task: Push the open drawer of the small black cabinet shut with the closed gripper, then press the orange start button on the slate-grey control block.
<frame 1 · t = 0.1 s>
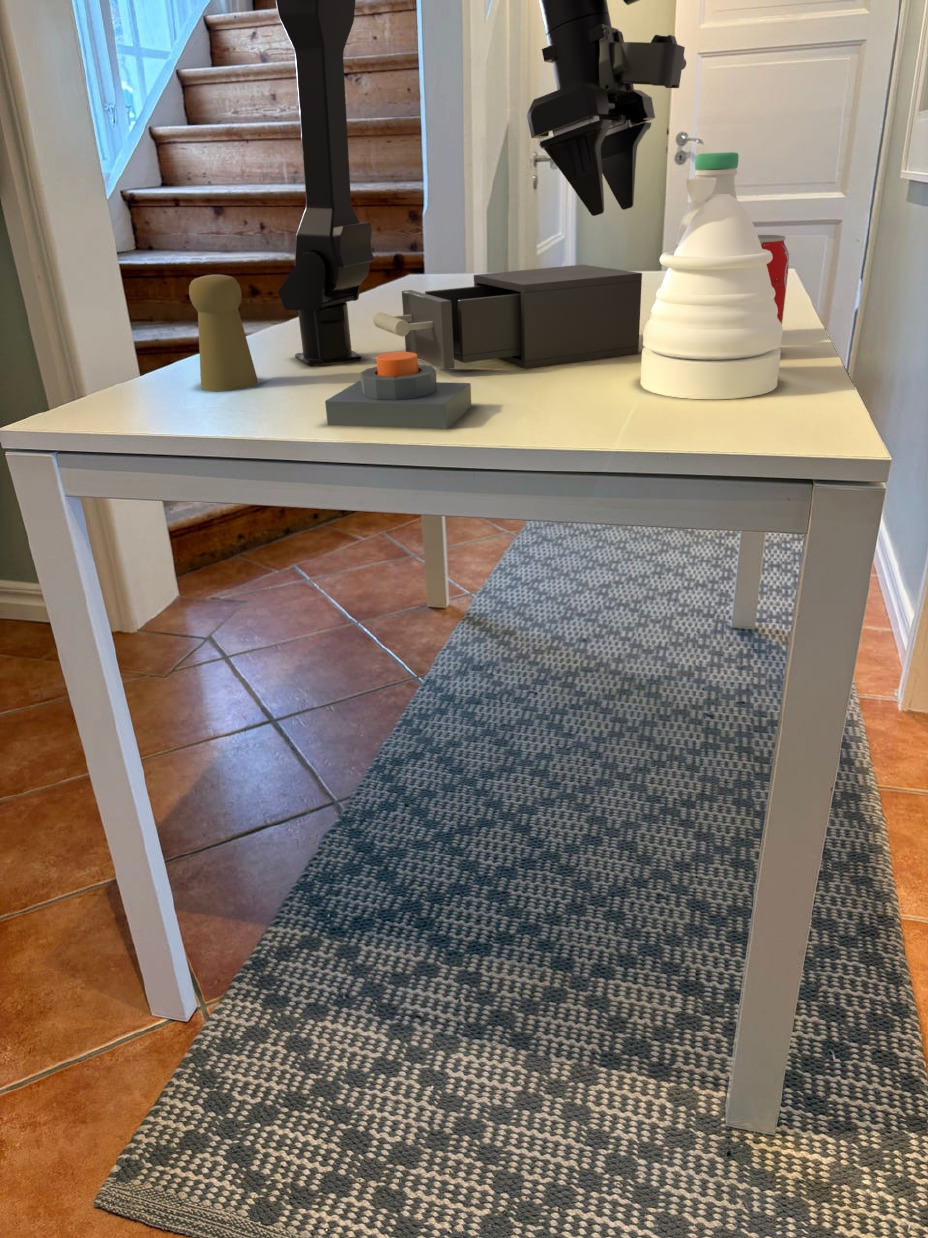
hand: (613, 211, 85), 15 cm above the table, tool pointing down, fingers open, 9 cm apart
milk bottle: (702, 341, 108), on the table
soda can: (744, 356, 99), on the table
cork: (230, 386, 96), on the table
honey pot: (707, 385, 87), on the table
control block: (401, 415, 81), on the table
start button: (397, 365, 79), point 4 cm above the table, slide at 0.1 cm
drawer: (460, 324, 99), point 4 cm above the table, slide at 8.0 cm
cabinet: (555, 352, 105), on the table
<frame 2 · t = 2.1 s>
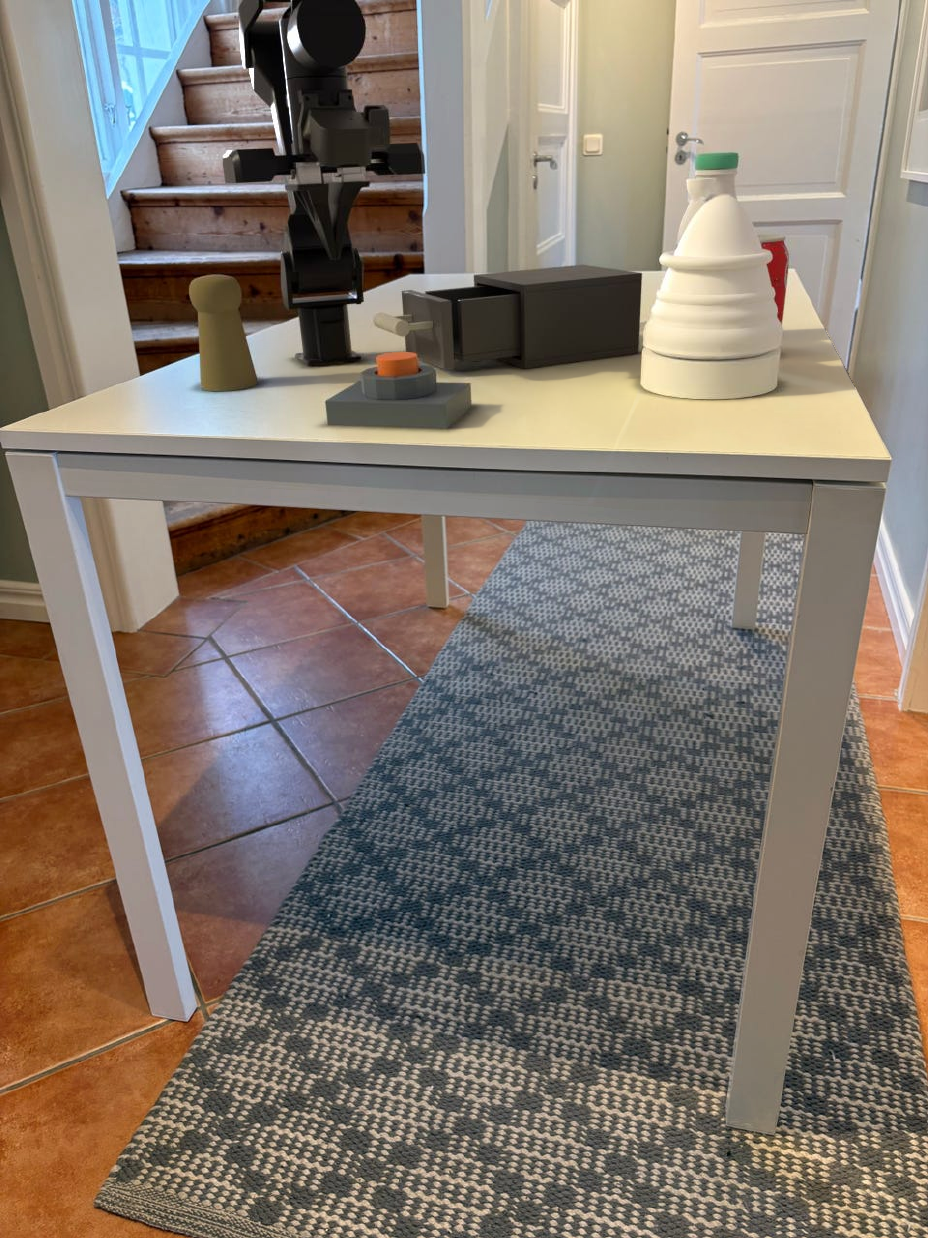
hand: (334, 259, 90), 12 cm above the table, tool pointing down, fingers closed
nothing on the table moved.
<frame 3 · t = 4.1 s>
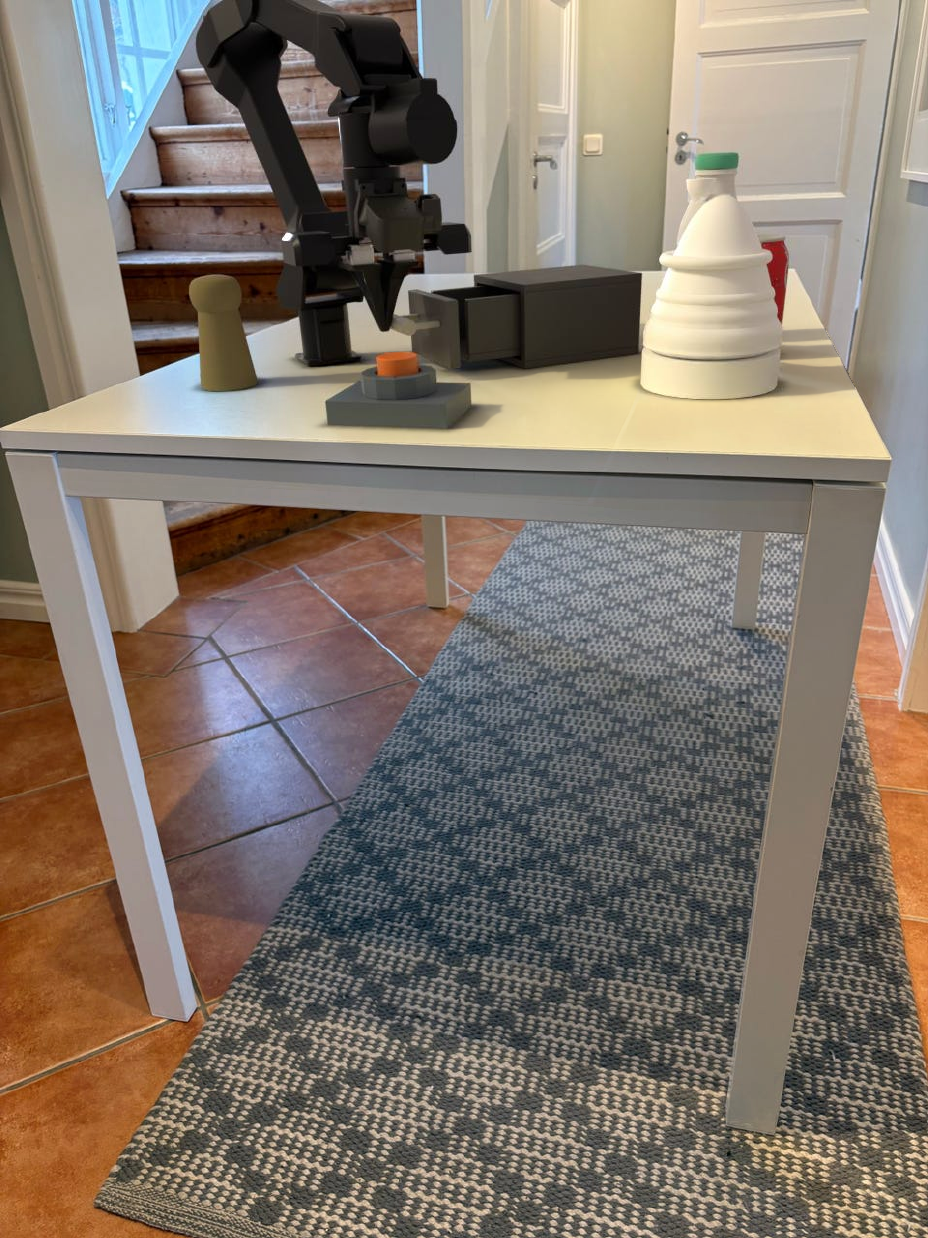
hand: (384, 331, 95), 5 cm above the table, tool pointing down, fingers closed
drawer: (467, 323, 99), point 4 cm above the table, slide at 7.2 cm, touching gripper
everything else where it was.
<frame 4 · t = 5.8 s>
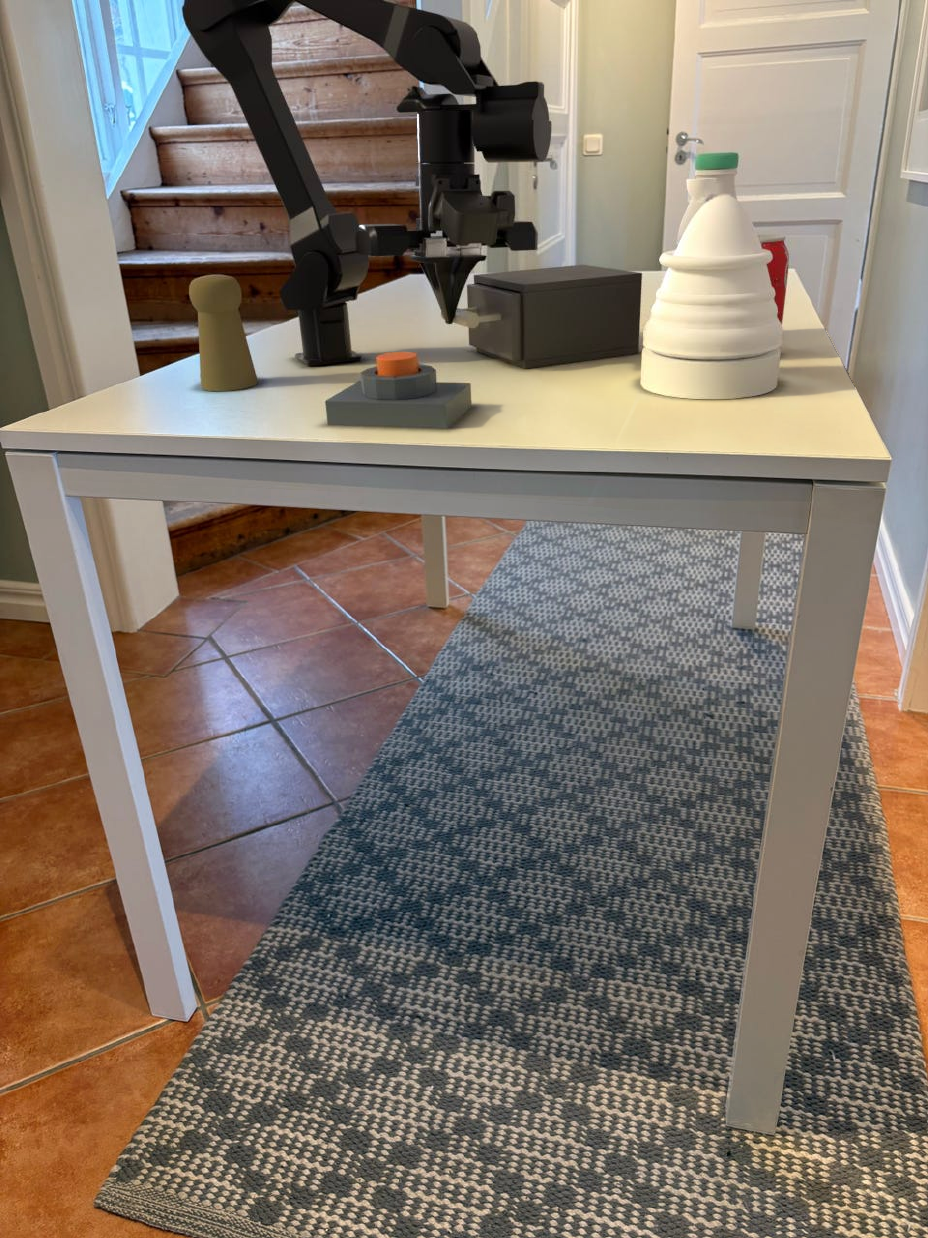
hand: (449, 323, 98), 5 cm above the table, tool pointing down, fingers closed
drawer: (525, 317, 101), point 4 cm above the table, slide at 0.0 cm, touching cabinet, gripper
everything else where it was.
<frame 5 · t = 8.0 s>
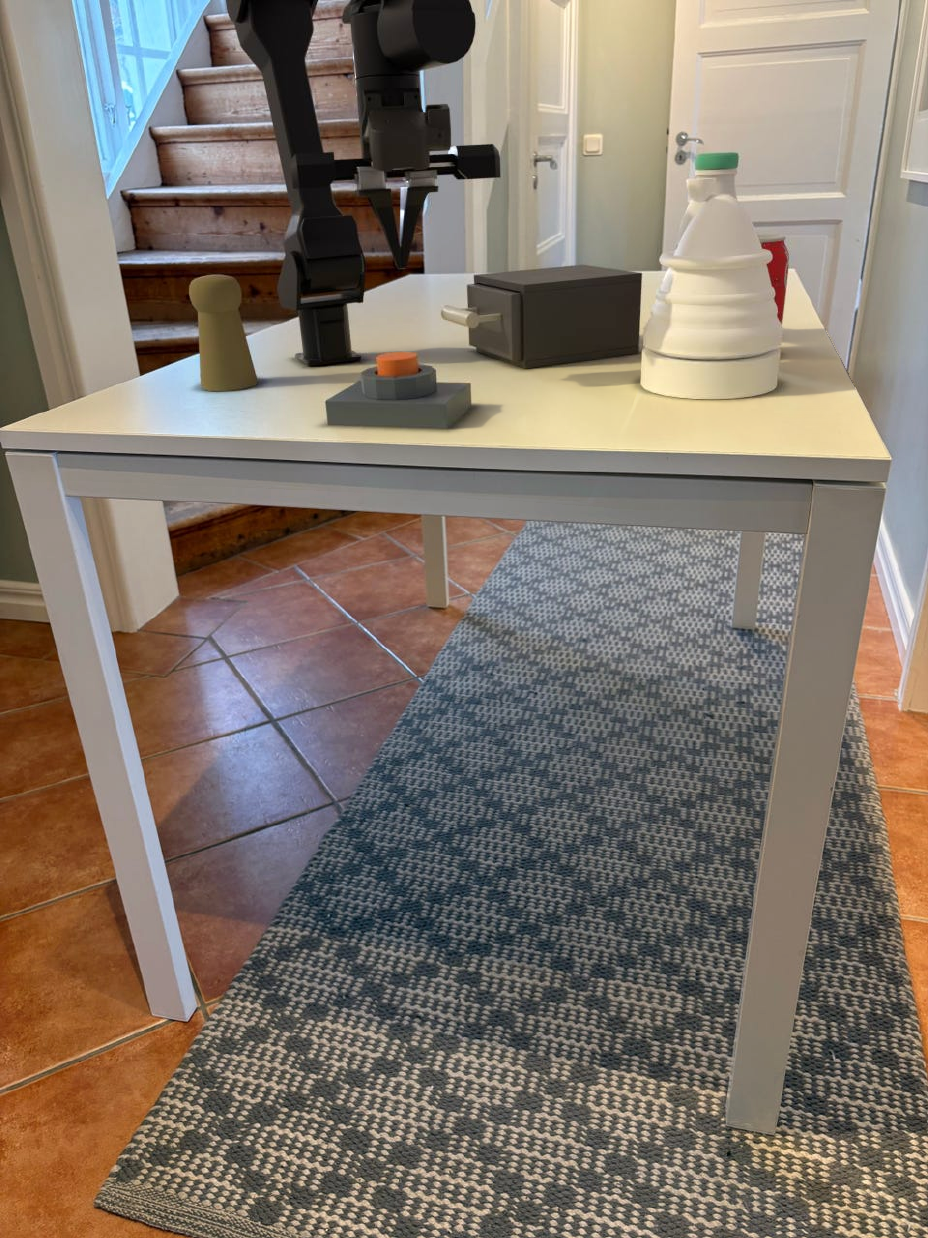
hand: (401, 268, 86), 11 cm above the table, tool pointing down, fingers closed
drawer: (525, 317, 101), point 4 cm above the table, slide at 0.0 cm
everything else where it was.
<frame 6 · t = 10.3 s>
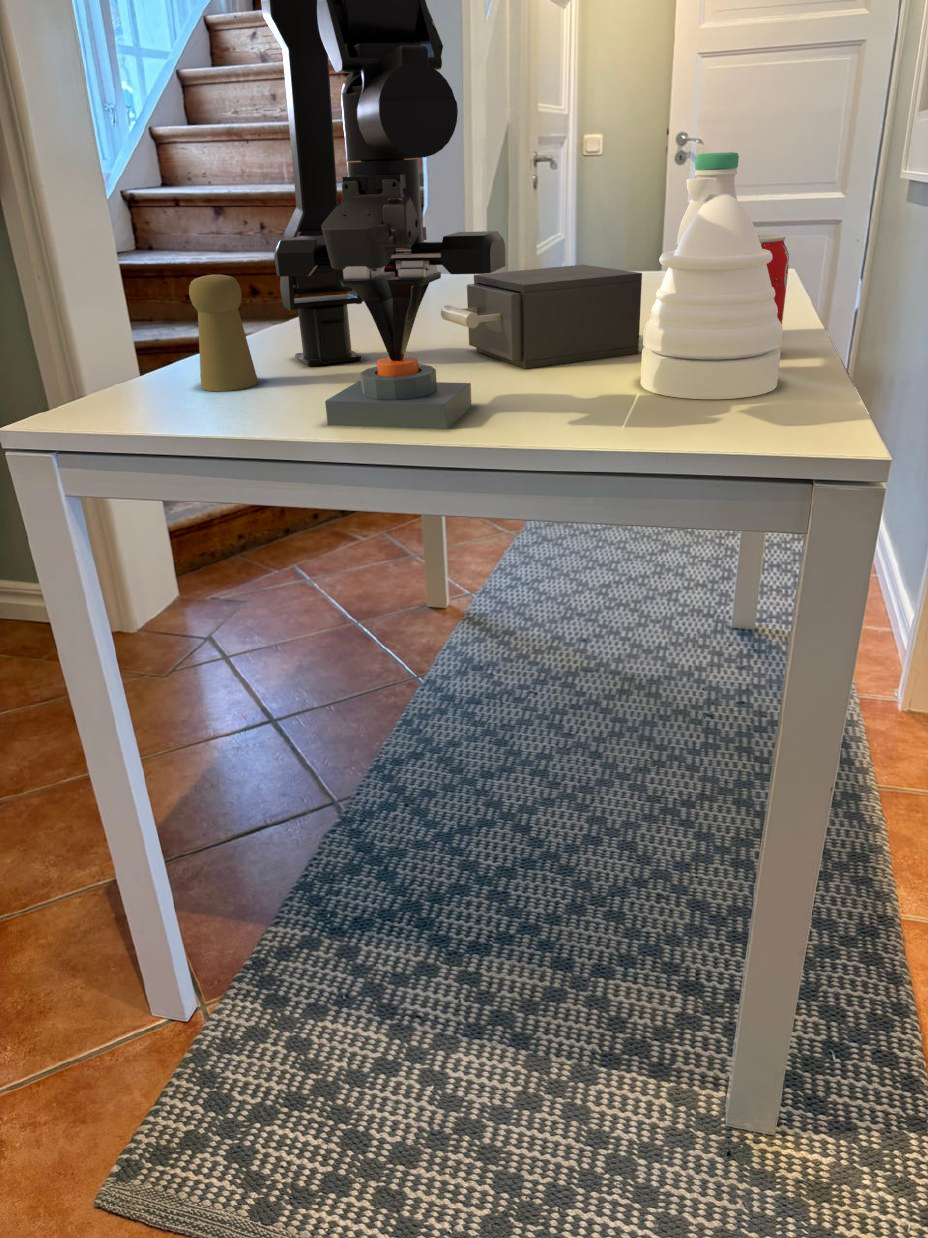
hand: (397, 359, 79), 5 cm above the table, tool pointing down, fingers closed, pressing on start button
start button: (397, 370, 79), point 4 cm above the table, slide at -0.3 cm, touching gripper
everything else where it was.
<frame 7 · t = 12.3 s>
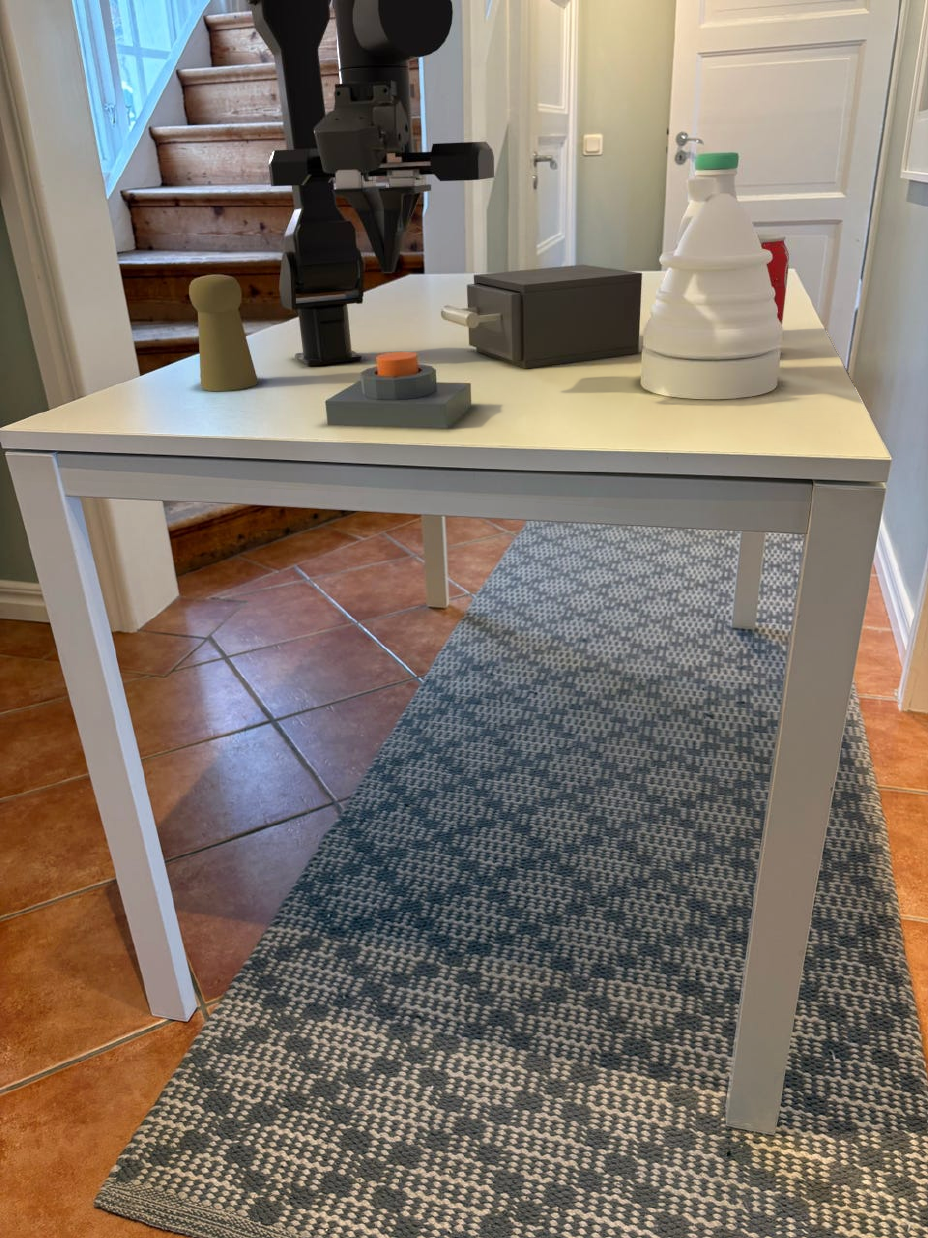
hand: (388, 272, 81), 12 cm above the table, tool pointing down, fingers closed
start button: (397, 365, 79), point 4 cm above the table, slide at 0.1 cm
everything else where it was.
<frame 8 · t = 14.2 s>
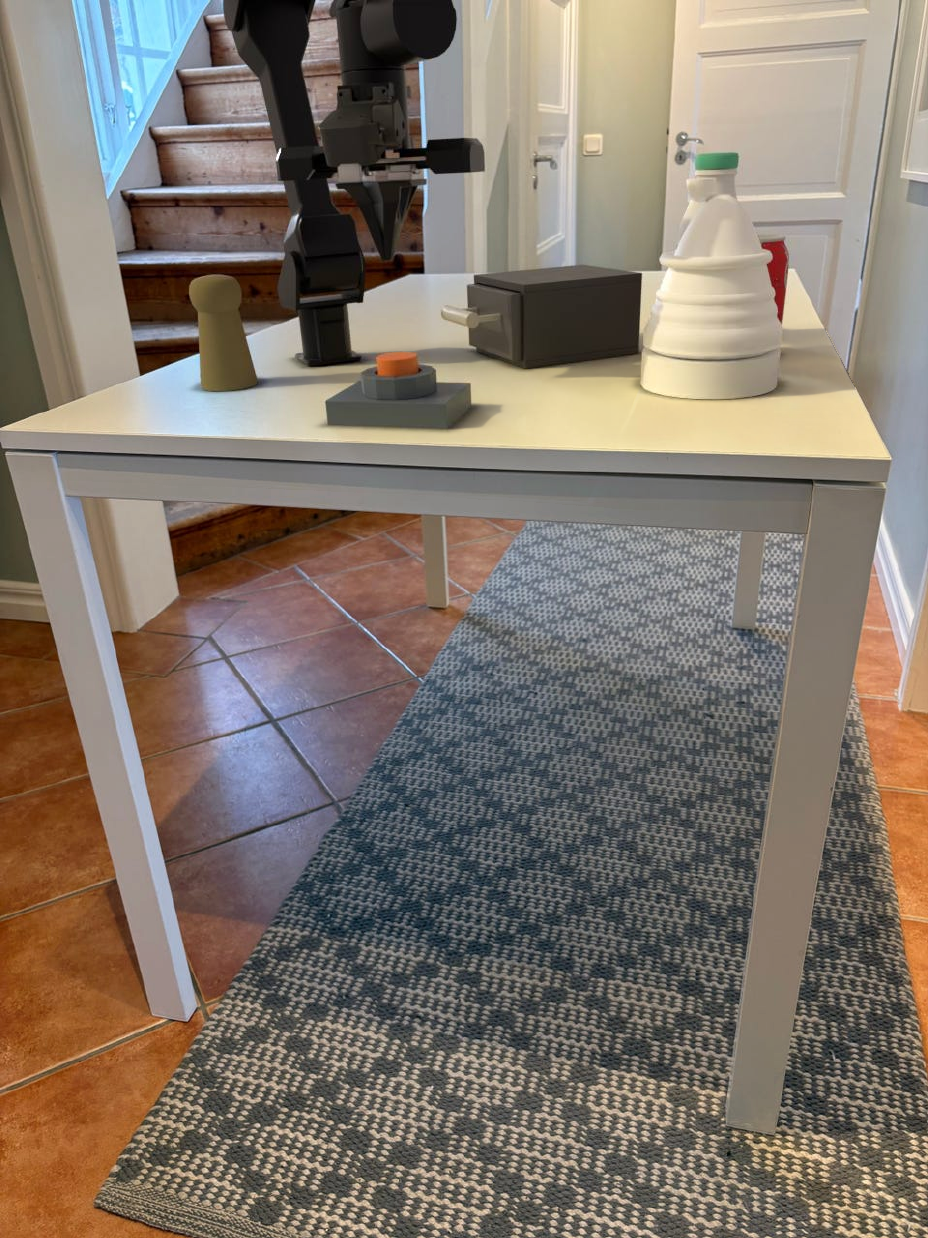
hand: (387, 260, 87), 12 cm above the table, tool pointing down, fingers closed
nothing on the table moved.
at the end: drawer slide at 0.0 cm; start button pushed in 1.1 cm at the most during the clip, back to where it started at the end; start button slide at 0.1 cm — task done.
